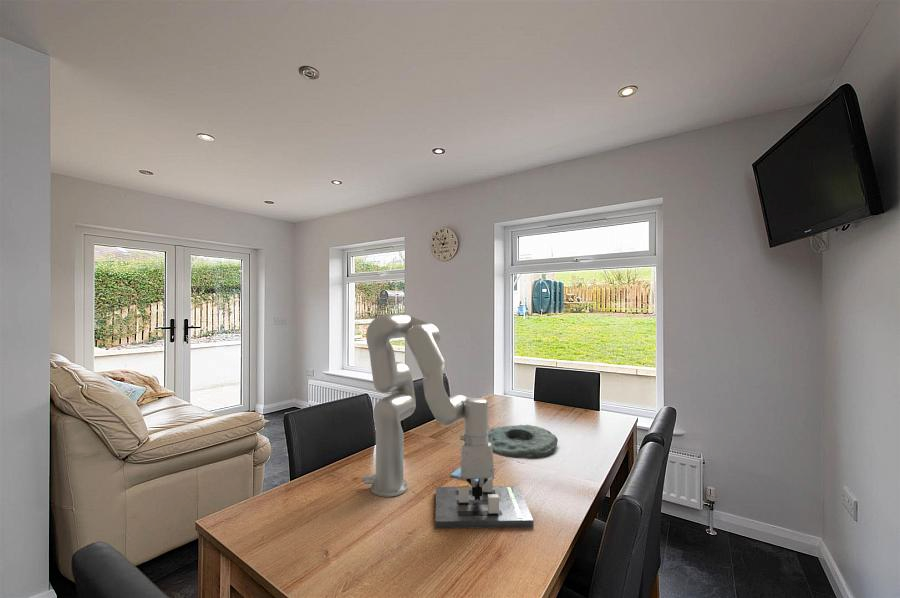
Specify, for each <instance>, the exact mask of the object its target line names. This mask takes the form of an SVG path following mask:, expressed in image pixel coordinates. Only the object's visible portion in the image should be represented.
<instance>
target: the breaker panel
mask: <svg viewBox="0 0 900 598" xmlns="http://www.w3.org/2000/svg"><path fill="white" fill-rule="evenodd" d="M488 494H498V496H499V513H488ZM490 528H491V529H493V528H494V529H497V528H498V529H499V528H502V529H503V528H504V529H506V528H510V529H511V528H534V518H533V515H532V514H531V512H530V509H529V507H528V504H527V502H526V501H525V498H524V496H523V493H522V491H521V489H520V486H519V485H515V486H514V485H509V486H507V485H505V486H503V485H502V486H498V485H497V486H496V485H495V486H494V485H493V492H483V487H482V496H480V500H478V499H477V500H475V498H474V496H472V486H469V502H459V486H436V487H435V529H436V530H437V529H438V530H439V529H440V530H441V529H490Z"/></svg>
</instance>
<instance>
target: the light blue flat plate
mask: <svg viewBox="0 0 900 598" xmlns="http://www.w3.org/2000/svg"><path fill="white" fill-rule="evenodd" d="M495 470H496V469H495V467H494V471H495ZM460 473H461V467H460V466H459V467H458V468H457V469H456V470H454V471H453V472H451V474H450V477H453V478H456V479H459V480H460ZM478 480H479V479H475V482H476V484H477V483H478Z"/></svg>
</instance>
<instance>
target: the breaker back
mask: <svg viewBox="0 0 900 598" xmlns="http://www.w3.org/2000/svg"><path fill="white" fill-rule="evenodd" d="M493 481H494V479H492V480H487V482H486V483H485V484H484V485H483V492H493V486H494V484H493Z"/></svg>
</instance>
